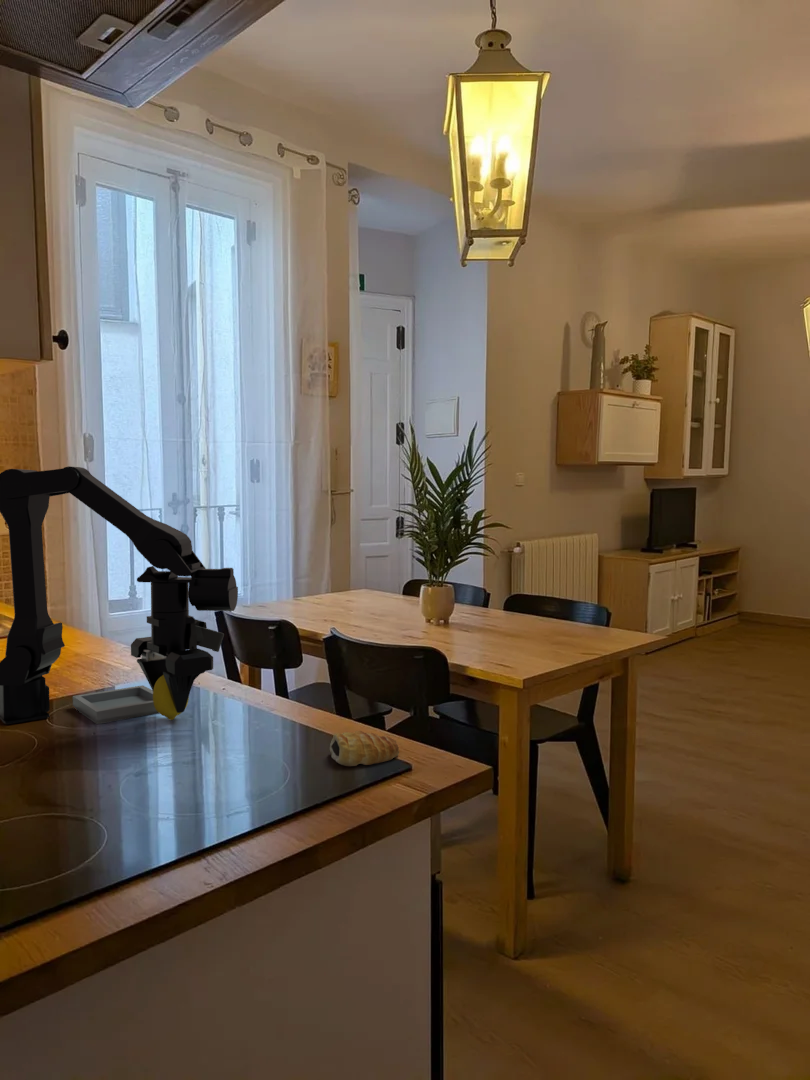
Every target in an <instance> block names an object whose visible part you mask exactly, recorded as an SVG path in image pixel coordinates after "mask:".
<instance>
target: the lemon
mask: <svg viewBox="0 0 810 1080" xmlns="http://www.w3.org/2000/svg"><path fill="white" fill-rule="evenodd" d="M189 699H190V696H189V697H188V700H187V704H186V707H185V709H187V707H188V703H189ZM153 703H154V707H155V709H156V710H157V712H158V713H157V714H160V715H161V716H164V717H166V718H167V719H168V720H169V721H173V720H175V718H176V717H177V716H179V715H181V714H182V713H183V712H181V713H177V712H176V709H175V707H174V704H173V701H172V698H171V695H170V692H169V689H168V686H167V683H166V680H165V677H164V675H162V676H161V677H160V678H159V679H158V680H157V681H156V683H155V686H154V690H153Z"/></svg>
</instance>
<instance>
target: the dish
mask: <svg viewBox="0 0 810 1080" xmlns="http://www.w3.org/2000/svg"><path fill="white" fill-rule="evenodd" d="M73 706H74V707H75V708H76V709H77V710H78V711H79V712H78V711H77V710H76V711H77V712H78V713H80V714H81V713H82V714H81V715H82V716H84V717H85V718H87V719H88V720H90V721H91V722H93V723H94V724H96V725H100V724H105V723H112V722H116V721H122V720H128V719H134V718H139V717H145V716H151V715H156V714H159V713H158V712H157V710H156V709H155V707H154V703H153V690H152V688H149V687H147V686H145V685H137V686H130V687H124V688H123V687H122V688H116V689H110V690H105V691H104V690H103V691H98V692H91V693H85V694H78V695H77V694H76V695H73V696H72V707H73Z"/></svg>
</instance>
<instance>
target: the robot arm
mask: <svg viewBox="0 0 810 1080" xmlns="http://www.w3.org/2000/svg"><path fill="white" fill-rule="evenodd" d="M66 494H70V495H72V496H73V497H75V499H77V500H79V501H80V502H81V503H82V504H84V505H85V506H87V507H88V508H89V509H91V510H92V511H94V512H95V513H96V514H97V515H99V516H100V517H101V518H103V519H104V520H105V521H106V522H108V523H110V524H111V525H112V526H114V527H115V528H116V529H118V530H119V531H121V533H123V534H124V535H126V537H128V538H129V540H130V541H131V543H132V544H133V546H134V547H135V549H136V550H137V551H138V552H139V553H140V554H141V555H142V557H144V559H145V560H146V561H147V562H148V563H149V564H150V565H151V566H147V567H146V568H145V571H144V572H143V573H142V574H141V575H139V576H137V578H136V582H137V583H150V615H149V616H148V615H147V616H146V623H147V624H150V626H151V627H150V629H151V630H150V631H151V633H150V635H151V636H145V637H136V638H135V639H134V640H133V642H131V644H130V656H131V657H133V658H136V662H137V664H138V666H139V667H140V669H141V671H142V672H143V674H144V676H145V678H146V680H147V682H148V684H149V686H150V689H151V690H154V686H155V683H156V681H157V680H158V679H159V678H160V677H161V676H162V675H164V677H165V680H166V683H167V686H168V689H169V692H170V695H171V698H172V701H173V704H174V707H175V709H176V712H177V713H181V712H182V713H184V712H185V710H186V708H187V707H186V704H187V700H188V697H189V698H190V693H191V690H192V687H193V684H194V682H195V680H196V679H197V678H198V677H199V676H200V675H201V674H204V673H205V672H207V671H212V670H213V669H214V656H213V655H212V654H210V653H209V652H208V651H206V650H204V649H205V648H206V649H208V650H212V651H213V652H216V653H219V652H220V648H221V646H222V642H223V640H224V636H225V633H223V632H220V631H217V630H213V629H209V628H207V623H206V622H205V621H203V620H199V619H196V618H194V616H191V615H190V614H189V613H190V612H189V611H190V610H189V607H190V606H189V604H190V605H191V606H192V607H194V608H195V609H196V611H201V612H203V611H205V612H206V611H207V612H208V611H209V612H211V611H213V612H215V611H216V612H220V611H221V612H234V611H235V610H236V608H237V604H238V597H239V587H238V586H237V581H236V577H235V576H234V575H235V574H234V568H233V567H223V568H206V566H205V565H204V564H203V563H202V561H201V560H200V559H199V557H198V556H197V555H196V554H195V552H194V550H193V543H192V540H191V538H190V537H189V536H188V535H187V533H185V532H183V531H181V530H179V529H177V528H175V527H172V526H171V525H169V524H166V523H164V522H161V521H159V520H156V519H155V518H152V517H150V516H148V515H146V514H145V513H143V512H142V511H141V510H139V509H138V508H137V507H136V506H134V505H133V504H132V503H130V502H128V500H126V499H124V498H123V497H122V496H121V495H120V494H118V493H116V492H115V491H114V490H112V489H111V488H110V487H108V486H107V485H106V484H104V483H103V482H102V481H101V480H99V479H97V478H96V477H95V476H94V475H93V474H92V473H91V472H90V471H89V470H88V469H87V468H84V467H80V466H65V467H63V468H57V469H47V470H35V469H22V468H21V469H19V468H8V469H5V470H3V471H1V472H0V514H1V516H2V518H3V519H4V522H5V523H6V525H7V529H8V536H9V537H8V538H9V541H8V542H9V551H10V552H9V554H10V555H9V556H10V565H11V566H10V568H11V569H10V570H11V581H12V594H13V595H12V596H13V610H14V617H13V620H12V623H11V626H10V628H9V631H8V634H7V636H6V646H5V655H4V657H3V659H2V660H1V661H0V721H1V722H2V723H3V724H4V725H11V724H18V723H19V724H20V723H24V722H31V721H34V720H35V721H36V720H41V719H48V718H50V713H48V712H50V710H51V709H50V708H51V707H50V687H49V685H47V684H46V677H44V676H45V675H48V674H49V673H50V671H51V668H52V665H53V664H54V663H55V662H56V661H57V660H58V659H59V658H60V656H61V653H62V648H64V647H66V645H65V642H64V641H63V628H64V627H63V622H56V623H54V622H53V620H52V618H51V616H50V615H49V611H48V604H47V603H48V600H47V599H48V598H47V584H46V570H45V559H44V558H45V555H44V541H43V522H44V520H45V517H46V515H47V513H48V510H49V504H50V497H54V496H62V495H66ZM158 569H159V570H158ZM165 569H167V570H168V571H167V570H165ZM161 570H162V571H161ZM164 570H165V571H164ZM198 647H201V648H204V649H200V648H198ZM188 701H189V700H188ZM187 705H188V704H187ZM185 707H186V708H185ZM182 713H181V714H182Z"/></svg>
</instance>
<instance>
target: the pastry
mask: <svg viewBox="0 0 810 1080" xmlns="http://www.w3.org/2000/svg"><path fill="white" fill-rule="evenodd" d="M399 747H400V746H399V745H398V742H397V740H395V739H394V738H392V737H390V736H388V735H382V736H380V735H379V734H378V733H373V732H364V731H362V730H356V731H355V732H353V731H352V732H351V731H349V732H348V731H344V732H342V733H334V734H333V737H332V739H331V741H330V744H329V751H330V754H331V759H333V760H334V761H335V762H336V763H338V764H339V765H341V766H345V767H357V766H358V765H359V764H361V765H364V766H368V765H373V764H379V763H383V762H384V763H385V762H387V761H391V760H393V758H396V757H398V756H399V754H400V749H399Z"/></svg>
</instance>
